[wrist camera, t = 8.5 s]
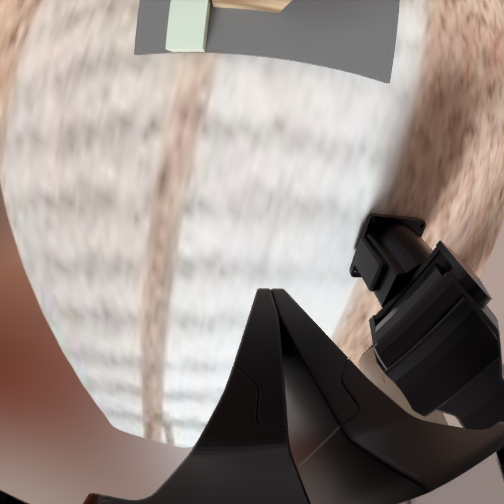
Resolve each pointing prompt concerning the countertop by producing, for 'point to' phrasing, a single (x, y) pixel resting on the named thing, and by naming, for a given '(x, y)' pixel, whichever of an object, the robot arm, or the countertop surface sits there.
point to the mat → (292, 33)
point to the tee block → (253, 4)
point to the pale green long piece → (187, 25)
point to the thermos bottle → (392, 387)
